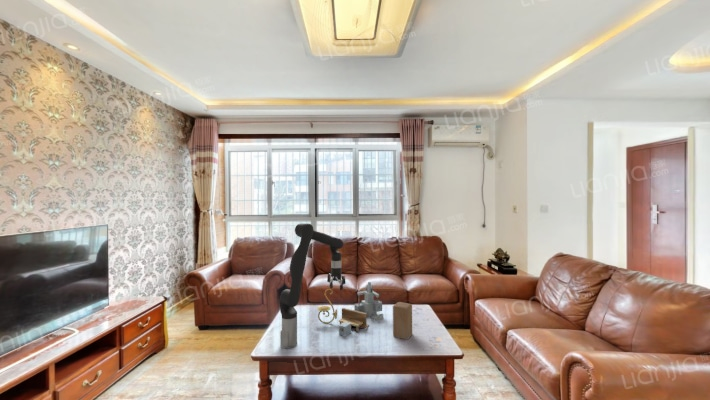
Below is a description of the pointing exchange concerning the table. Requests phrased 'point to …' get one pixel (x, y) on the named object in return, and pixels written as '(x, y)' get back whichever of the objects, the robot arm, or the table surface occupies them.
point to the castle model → (369, 303)
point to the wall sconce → (326, 308)
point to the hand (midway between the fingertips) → (336, 289)
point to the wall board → (354, 318)
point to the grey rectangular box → (345, 328)
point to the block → (402, 320)
